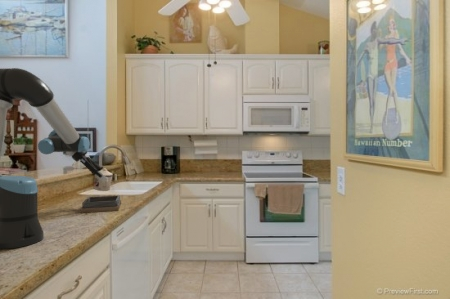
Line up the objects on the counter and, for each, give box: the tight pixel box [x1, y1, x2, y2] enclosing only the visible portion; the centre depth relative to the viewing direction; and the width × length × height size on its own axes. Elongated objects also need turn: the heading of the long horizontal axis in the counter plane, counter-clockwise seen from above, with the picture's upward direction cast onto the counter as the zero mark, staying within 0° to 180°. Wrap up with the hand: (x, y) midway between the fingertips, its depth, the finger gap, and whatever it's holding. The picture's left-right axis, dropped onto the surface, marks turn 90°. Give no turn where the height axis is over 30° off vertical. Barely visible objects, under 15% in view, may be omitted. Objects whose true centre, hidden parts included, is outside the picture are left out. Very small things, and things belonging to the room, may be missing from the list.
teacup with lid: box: [93, 167, 114, 192], centre depth 156 cm, size 12×9×12 cm
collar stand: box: [80, 194, 122, 214], centre depth 156 cm, size 20×18×5 cm
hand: (107, 179), depth 157 cm, fingers closed on teacup with lid, 11 cm apart
